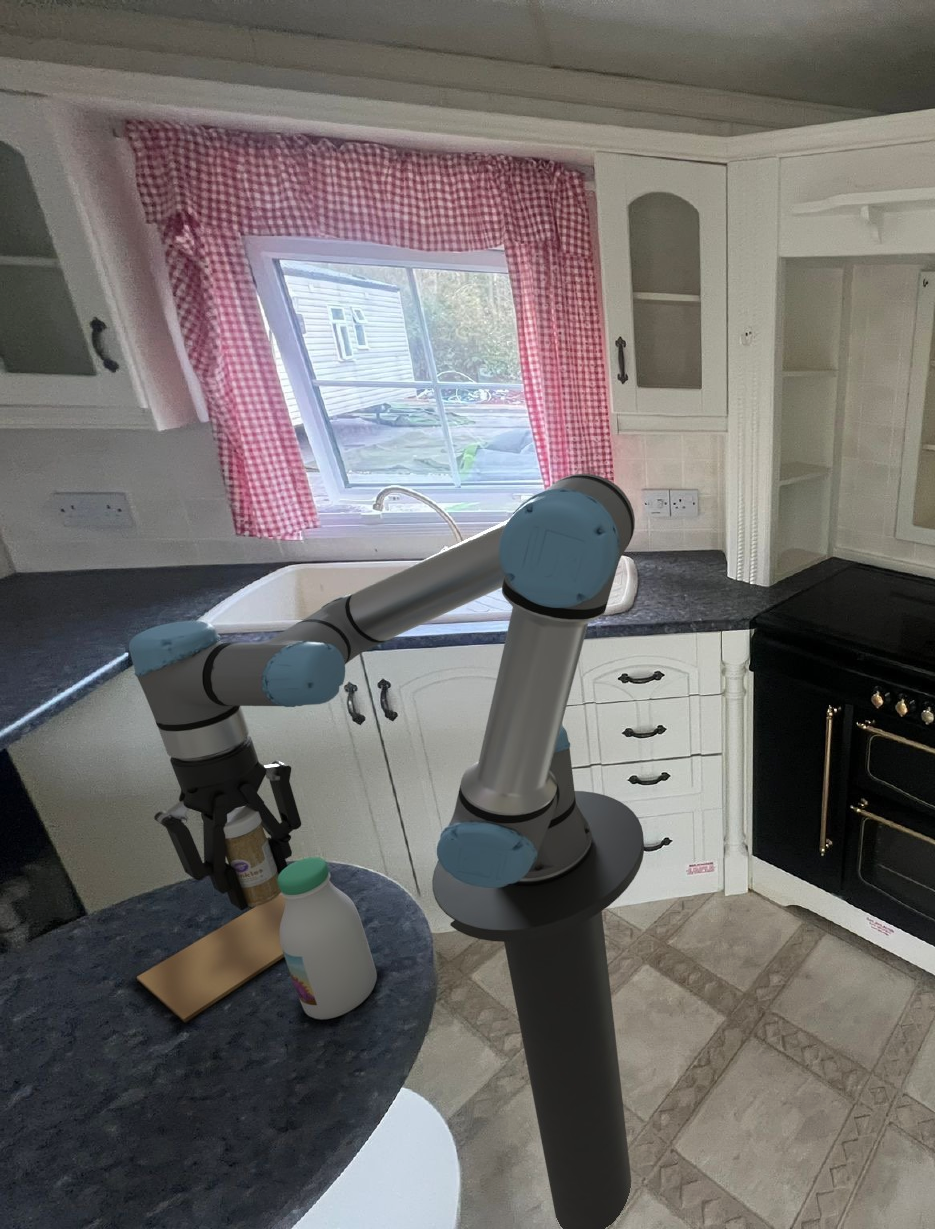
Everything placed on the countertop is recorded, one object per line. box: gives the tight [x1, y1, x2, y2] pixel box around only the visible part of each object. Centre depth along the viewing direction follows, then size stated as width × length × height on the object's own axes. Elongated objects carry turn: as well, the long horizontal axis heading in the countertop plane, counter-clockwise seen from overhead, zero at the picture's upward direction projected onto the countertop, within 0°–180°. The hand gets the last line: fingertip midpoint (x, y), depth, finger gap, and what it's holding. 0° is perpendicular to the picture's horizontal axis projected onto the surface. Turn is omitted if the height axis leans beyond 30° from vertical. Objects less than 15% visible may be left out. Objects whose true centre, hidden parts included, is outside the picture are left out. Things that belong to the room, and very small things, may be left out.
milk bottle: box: [277, 856, 378, 1020], centre depth 79 cm, size 8×8×20 cm
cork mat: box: [136, 893, 286, 1023], centre depth 87 cm, size 16×12×1 cm
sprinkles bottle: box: [224, 806, 281, 908], centre depth 86 cm, size 5×5×13 cm
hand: (262, 891), depth 89 cm, fingers closed on sprinkles bottle, 4 cm apart
